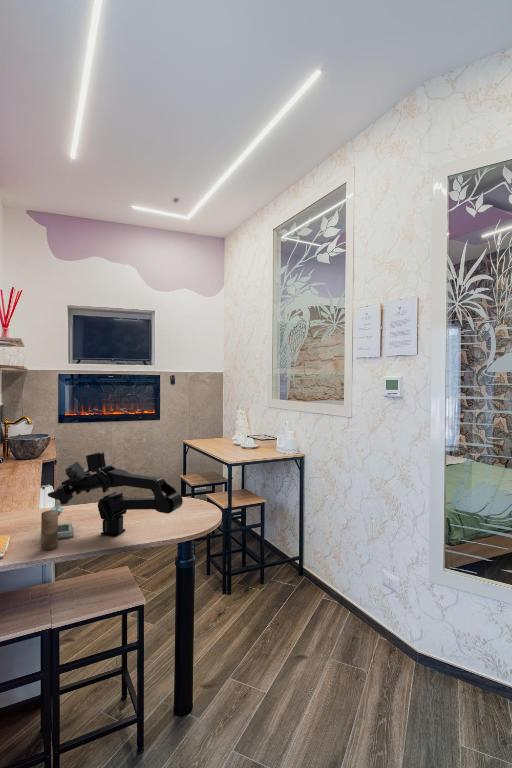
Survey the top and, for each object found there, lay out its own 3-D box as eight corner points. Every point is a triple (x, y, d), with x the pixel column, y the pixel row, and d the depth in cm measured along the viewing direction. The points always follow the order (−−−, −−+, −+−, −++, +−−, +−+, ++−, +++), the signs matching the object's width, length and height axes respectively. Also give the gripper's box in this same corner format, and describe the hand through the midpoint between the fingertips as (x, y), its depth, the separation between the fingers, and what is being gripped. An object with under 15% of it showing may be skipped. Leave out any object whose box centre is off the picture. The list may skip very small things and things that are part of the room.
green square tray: (72, 527, 162) (72, 522, 162) (73, 537, 153) (73, 531, 153) (42, 531, 158) (43, 526, 158) (42, 541, 149) (42, 535, 149)
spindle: (60, 545, 146) (61, 511, 145) (50, 551, 141) (51, 515, 141) (47, 544, 147) (48, 509, 147) (37, 550, 142) (38, 514, 142)
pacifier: (44, 517, 173) (60, 516, 175) (44, 502, 173) (60, 501, 175) (48, 511, 181) (64, 510, 182) (48, 496, 180) (63, 495, 182)
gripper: (96, 452, 168) (61, 460, 171) (71, 473, 150) (32, 481, 153) (105, 478, 170) (70, 485, 173) (82, 501, 152) (43, 509, 155)
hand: (55, 489), depth 163 cm, fingers open, 9 cm apart
